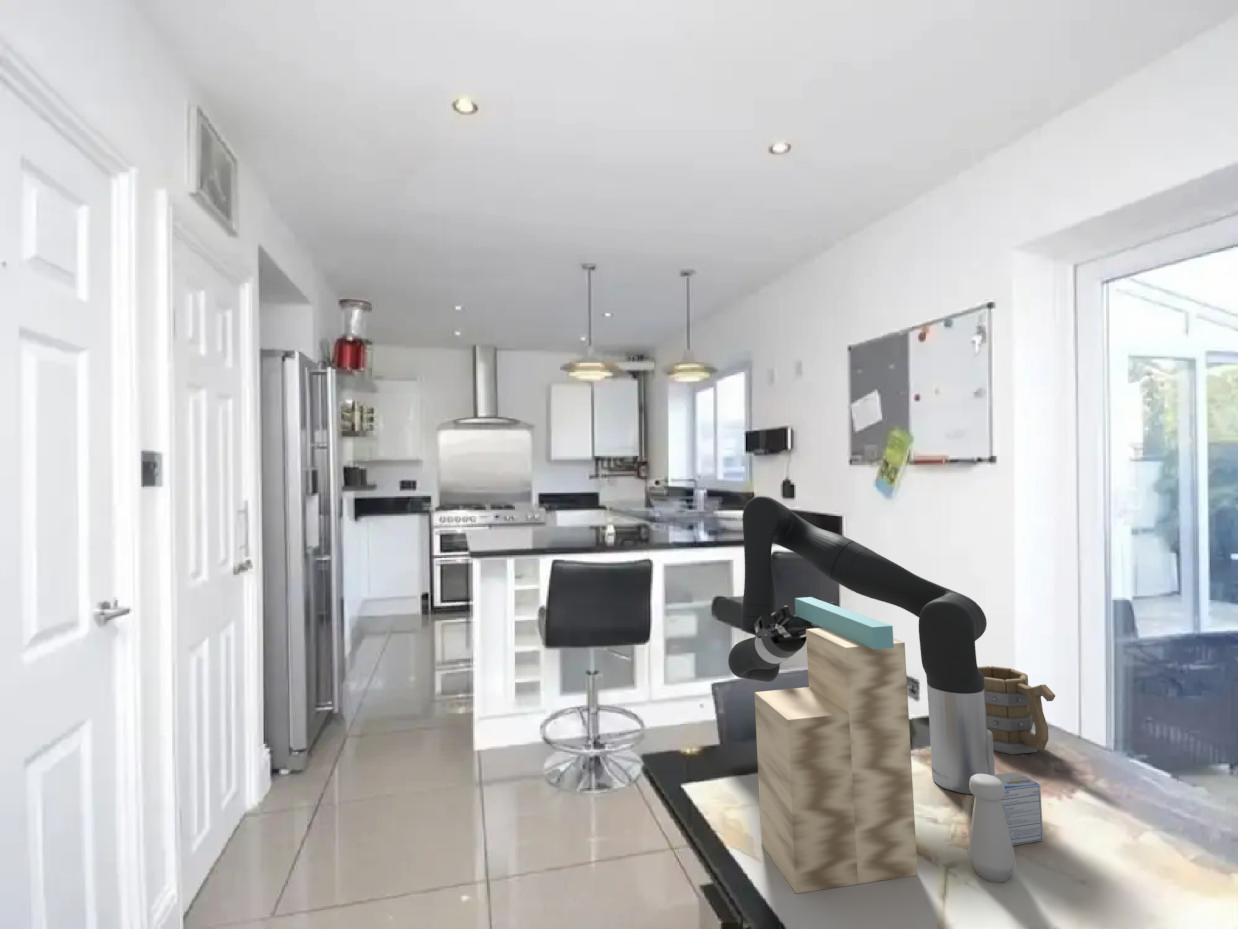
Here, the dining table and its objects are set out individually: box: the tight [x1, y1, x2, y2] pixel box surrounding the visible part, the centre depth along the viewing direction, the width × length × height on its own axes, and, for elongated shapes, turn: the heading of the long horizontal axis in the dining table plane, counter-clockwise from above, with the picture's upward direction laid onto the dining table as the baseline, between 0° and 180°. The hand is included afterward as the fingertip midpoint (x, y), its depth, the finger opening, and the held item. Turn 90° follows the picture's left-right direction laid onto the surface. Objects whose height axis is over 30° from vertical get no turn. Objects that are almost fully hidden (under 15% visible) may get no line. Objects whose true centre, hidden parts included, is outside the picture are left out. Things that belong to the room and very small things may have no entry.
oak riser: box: [753, 628, 919, 894], centre depth 92 cm, size 18×12×32 cm, turn 100°
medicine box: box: [991, 771, 1044, 846], centre depth 95 cm, size 8×4×9 cm, turn 100°
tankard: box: [977, 665, 1056, 755], centre depth 126 cm, size 20×13×15 cm, turn 6°
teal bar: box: [794, 596, 894, 649], centre depth 97 cm, size 3×24×3 cm, turn 10°
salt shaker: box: [966, 774, 1017, 883], centre depth 87 cm, size 6×6×13 cm
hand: (811, 609), depth 106 cm, fingers open, 8 cm apart
